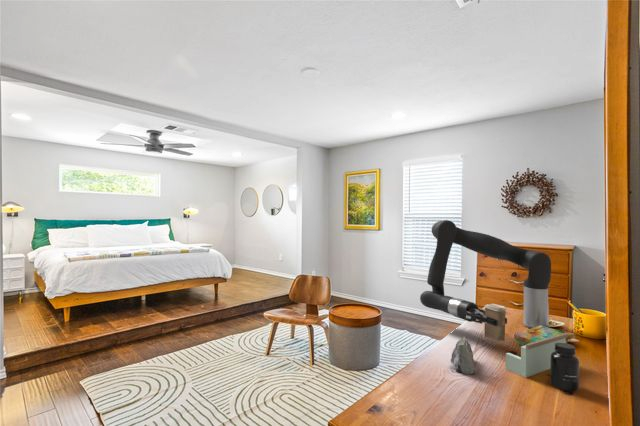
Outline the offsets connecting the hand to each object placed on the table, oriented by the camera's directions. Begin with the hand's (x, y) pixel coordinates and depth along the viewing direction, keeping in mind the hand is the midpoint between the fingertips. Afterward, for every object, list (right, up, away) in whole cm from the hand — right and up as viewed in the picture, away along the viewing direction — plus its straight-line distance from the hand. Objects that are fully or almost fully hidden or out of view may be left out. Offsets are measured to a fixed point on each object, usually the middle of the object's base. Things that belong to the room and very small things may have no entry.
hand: (501, 322), depth 122 cm
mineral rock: (-18, -11, -11) cm, 23 cm away
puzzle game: (+21, -12, +9) cm, 25 cm away
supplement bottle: (+6, -11, -24) cm, 27 cm away
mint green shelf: (+5, -11, -10) cm, 16 cm away
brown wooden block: (-1, -7, +2) cm, 8 cm away
